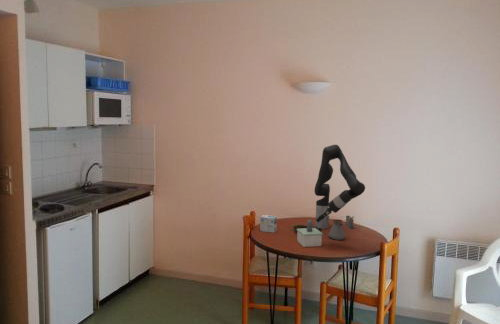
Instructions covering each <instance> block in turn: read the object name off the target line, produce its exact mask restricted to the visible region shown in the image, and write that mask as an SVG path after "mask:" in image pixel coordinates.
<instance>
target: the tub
mask: <svg viewBox="0 0 500 324" xmlns="http://www.w3.org/2000/svg"><path fill="white" fill-rule="evenodd" d="M296 232H297V237H296V242H297V243H299V245H301V246H302V247H303V248H307V247H322V239H323V238H322V237H323V235H314V236H303V235H302V234H300V233H299V232H298V231H296Z"/></svg>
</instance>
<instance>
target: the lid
mask: <svg viewBox="0 0 500 324" xmlns="http://www.w3.org/2000/svg"><path fill="white" fill-rule="evenodd" d="M313 224H314V221H313V220H312V219H307V220H306V228H305V227H304V228H302V227H301V228H296V232H299V233H300V234H302V235H303V236H314V235H322V236H323V235H324V233H323V232H321V231H320V230H319V229H318V228H316V227H313Z"/></svg>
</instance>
